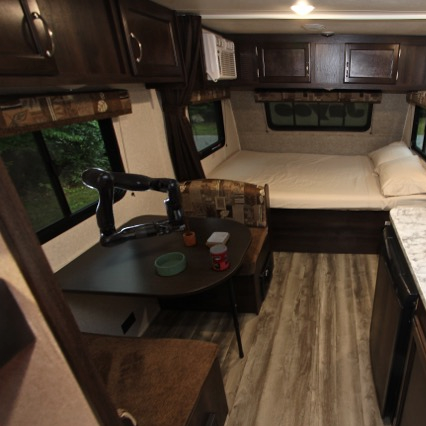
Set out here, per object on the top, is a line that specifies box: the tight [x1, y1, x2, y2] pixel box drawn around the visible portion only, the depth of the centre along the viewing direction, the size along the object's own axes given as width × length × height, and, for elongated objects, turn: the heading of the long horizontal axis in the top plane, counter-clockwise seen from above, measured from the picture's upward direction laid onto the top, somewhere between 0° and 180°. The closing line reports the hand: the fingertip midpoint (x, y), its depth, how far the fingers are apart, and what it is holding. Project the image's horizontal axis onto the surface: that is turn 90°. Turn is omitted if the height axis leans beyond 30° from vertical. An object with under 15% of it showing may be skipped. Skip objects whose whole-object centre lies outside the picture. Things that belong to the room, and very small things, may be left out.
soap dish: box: [205, 231, 230, 249], centre depth 168 cm, size 12×10×5 cm
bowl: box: [154, 251, 187, 277], centre depth 147 cm, size 14×14×5 cm
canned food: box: [209, 244, 230, 272], centre depth 147 cm, size 8×8×11 cm
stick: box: [183, 214, 191, 236], centre depth 165 cm, size 2×2×18 cm
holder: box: [183, 231, 197, 247], centre depth 168 cm, size 6×6×6 cm
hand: (178, 224), depth 161 cm, fingers open, 8 cm apart
